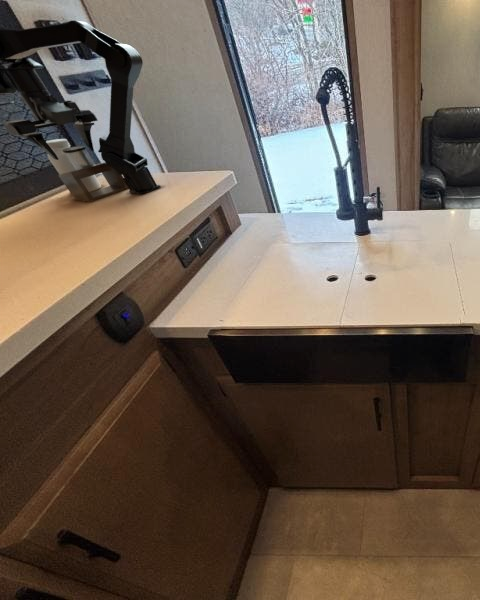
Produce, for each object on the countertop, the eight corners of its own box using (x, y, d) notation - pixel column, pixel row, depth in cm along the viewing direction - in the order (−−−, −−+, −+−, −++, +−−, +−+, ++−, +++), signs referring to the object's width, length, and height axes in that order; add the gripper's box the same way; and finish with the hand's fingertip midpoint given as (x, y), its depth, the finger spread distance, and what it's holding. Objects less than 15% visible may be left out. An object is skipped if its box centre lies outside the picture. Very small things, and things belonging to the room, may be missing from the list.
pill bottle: (106, 187, 106) (75, 138, 97) (78, 195, 101) (42, 144, 92) (96, 184, 110) (65, 136, 101) (68, 192, 105) (33, 142, 96)
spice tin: (91, 166, 100) (77, 145, 96) (101, 167, 98) (88, 146, 94) (72, 171, 96) (58, 150, 92) (83, 172, 94) (68, 151, 91)
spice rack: (75, 199, 99) (54, 170, 93) (114, 186, 107) (97, 159, 102) (90, 201, 96) (70, 172, 91) (129, 188, 105) (113, 160, 99)
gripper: (2, 96, 74) (52, 166, 84) (89, 86, 87) (124, 148, 97) (-19, 97, 78) (31, 164, 88) (67, 87, 91) (102, 146, 101)
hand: (75, 155), depth 93 cm, fingers open, 9 cm apart
